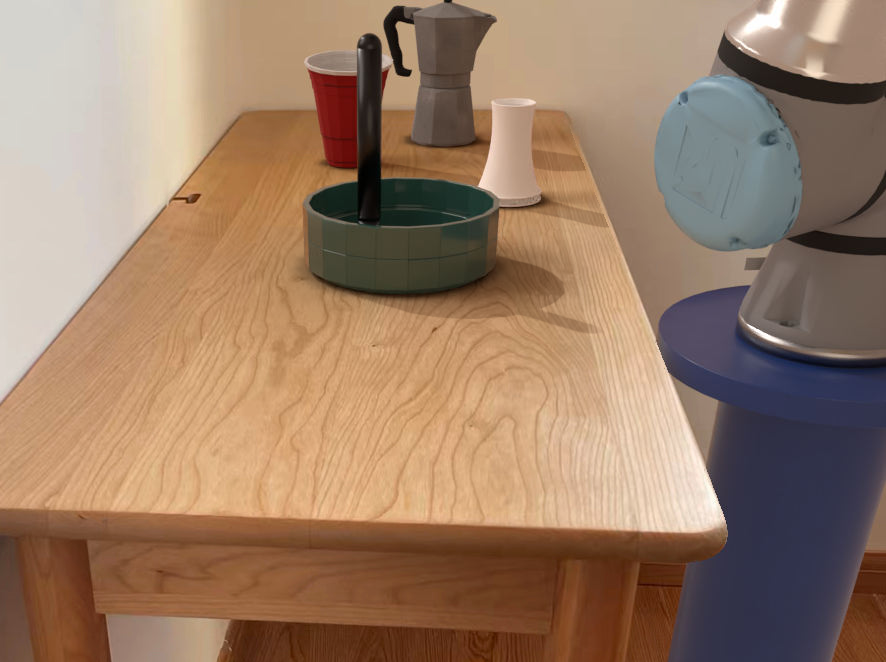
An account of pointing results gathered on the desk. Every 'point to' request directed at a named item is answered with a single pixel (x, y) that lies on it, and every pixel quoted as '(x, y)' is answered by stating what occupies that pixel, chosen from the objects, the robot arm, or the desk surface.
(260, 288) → the desk surface
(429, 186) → the bowl
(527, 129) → the vase
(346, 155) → the plastic cup
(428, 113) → the coffeepot
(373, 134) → the black stick
